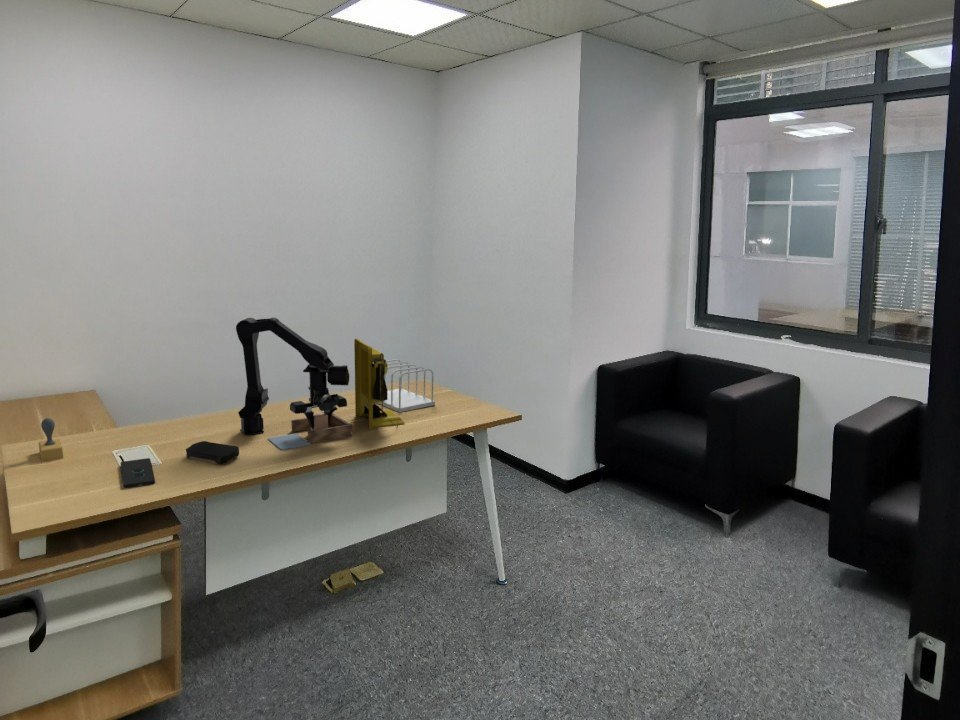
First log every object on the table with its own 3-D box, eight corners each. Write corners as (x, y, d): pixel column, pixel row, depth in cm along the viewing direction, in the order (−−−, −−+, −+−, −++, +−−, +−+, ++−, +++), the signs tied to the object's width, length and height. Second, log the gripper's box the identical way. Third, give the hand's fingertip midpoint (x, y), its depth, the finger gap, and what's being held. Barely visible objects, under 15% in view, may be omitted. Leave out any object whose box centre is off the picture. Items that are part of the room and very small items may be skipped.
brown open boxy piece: (309, 443, 230) (308, 432, 229) (291, 431, 243) (291, 420, 242) (352, 436, 239) (351, 424, 238) (333, 424, 252) (332, 413, 251)
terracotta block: (315, 436, 237) (315, 417, 236) (310, 433, 241) (310, 413, 239) (328, 434, 240) (327, 415, 238) (323, 431, 243) (322, 412, 242)
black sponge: (243, 458, 216) (242, 447, 215) (224, 466, 208) (223, 455, 208) (201, 451, 222) (201, 440, 221) (181, 459, 214) (181, 448, 213)
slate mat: (281, 450, 223) (281, 449, 223) (267, 439, 233) (267, 438, 233) (310, 444, 229) (310, 443, 229) (296, 434, 239) (296, 433, 239)
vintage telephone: (413, 431, 245) (413, 348, 239) (375, 436, 239) (374, 351, 233) (386, 408, 273) (386, 333, 267) (351, 412, 267) (350, 335, 261)
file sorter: (366, 398, 287) (365, 362, 284) (401, 392, 298) (401, 357, 295) (399, 412, 268) (399, 373, 265) (435, 405, 279) (435, 368, 276)
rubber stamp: (39, 452, 216) (35, 415, 214) (61, 449, 220) (57, 413, 217) (41, 462, 208) (37, 423, 206) (63, 458, 212) (59, 420, 209)
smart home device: (122, 484, 190) (119, 461, 207) (123, 490, 190) (120, 466, 207) (155, 479, 194) (150, 457, 211) (156, 485, 194) (150, 462, 211)
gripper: (300, 393, 225) (302, 439, 228) (353, 386, 236) (354, 430, 239) (288, 386, 234) (290, 430, 237) (339, 379, 244) (340, 422, 248)
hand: (319, 428), depth 240 cm, fingers closed on terracotta block, 4 cm apart
